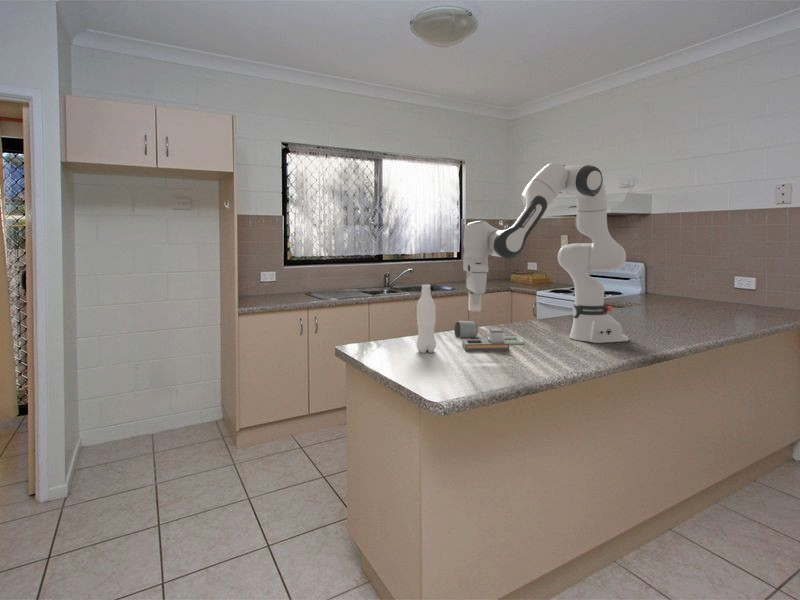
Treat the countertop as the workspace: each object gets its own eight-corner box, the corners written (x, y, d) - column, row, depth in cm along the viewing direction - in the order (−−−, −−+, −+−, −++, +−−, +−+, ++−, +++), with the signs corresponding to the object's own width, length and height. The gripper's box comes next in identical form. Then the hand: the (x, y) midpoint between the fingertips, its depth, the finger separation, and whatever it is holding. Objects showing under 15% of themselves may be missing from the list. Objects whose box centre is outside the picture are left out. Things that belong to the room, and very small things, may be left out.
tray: (517, 340, 200) (517, 336, 199) (523, 346, 190) (523, 341, 190) (487, 341, 200) (487, 336, 199) (492, 347, 190) (492, 342, 189)
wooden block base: (504, 348, 188) (504, 339, 187) (509, 353, 180) (509, 343, 179) (462, 348, 187) (462, 339, 187) (465, 353, 179) (465, 344, 179)
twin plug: (500, 346, 186) (500, 328, 185) (502, 349, 182) (502, 330, 181) (489, 346, 186) (489, 328, 185) (491, 349, 181) (491, 330, 181)
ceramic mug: (479, 339, 203) (479, 321, 203) (461, 340, 201) (461, 322, 200) (468, 335, 213) (468, 317, 213) (450, 336, 211) (450, 318, 210)
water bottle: (439, 350, 184) (439, 284, 181) (430, 354, 178) (430, 286, 175) (422, 348, 188) (422, 283, 185) (413, 352, 182) (412, 285, 179)
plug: (479, 309, 183) (479, 290, 182) (481, 311, 179) (481, 291, 178) (468, 309, 183) (468, 290, 182) (470, 311, 179) (470, 292, 178)
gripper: (462, 264, 189) (462, 300, 191) (471, 267, 169) (470, 307, 171) (478, 264, 190) (478, 299, 191) (489, 267, 169) (489, 307, 171)
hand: (475, 303), depth 181 cm, fingers closed on plug, 4 cm apart
